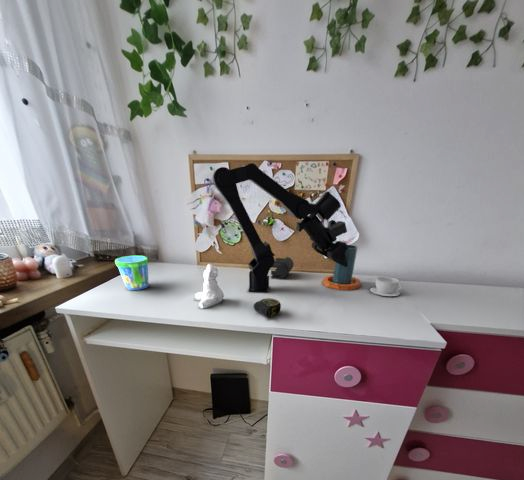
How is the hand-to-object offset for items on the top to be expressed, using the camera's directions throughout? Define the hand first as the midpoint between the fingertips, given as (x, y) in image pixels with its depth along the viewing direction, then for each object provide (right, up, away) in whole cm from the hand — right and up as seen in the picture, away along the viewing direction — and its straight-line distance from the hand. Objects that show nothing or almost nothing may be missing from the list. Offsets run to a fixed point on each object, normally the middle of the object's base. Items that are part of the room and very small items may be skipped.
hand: (341, 263), depth 100 cm
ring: (+1, -7, +4) cm, 8 cm away
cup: (+1, -7, +4) cm, 8 cm away
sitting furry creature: (-46, -17, -12) cm, 50 cm away
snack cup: (-75, -9, -1) cm, 75 cm away
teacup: (+15, -12, -3) cm, 19 cm away
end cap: (-21, -1, +13) cm, 25 cm away
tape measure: (-28, -22, -21) cm, 41 cm away
